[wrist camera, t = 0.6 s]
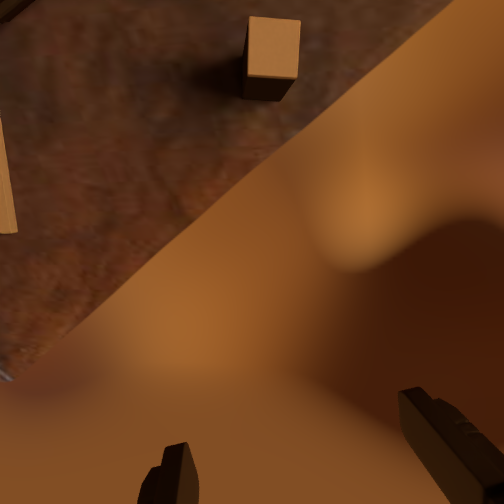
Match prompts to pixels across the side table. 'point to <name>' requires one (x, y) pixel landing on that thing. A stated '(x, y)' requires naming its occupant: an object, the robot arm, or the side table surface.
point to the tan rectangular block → (270, 58)
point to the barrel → (12, 8)
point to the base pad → (6, 193)
